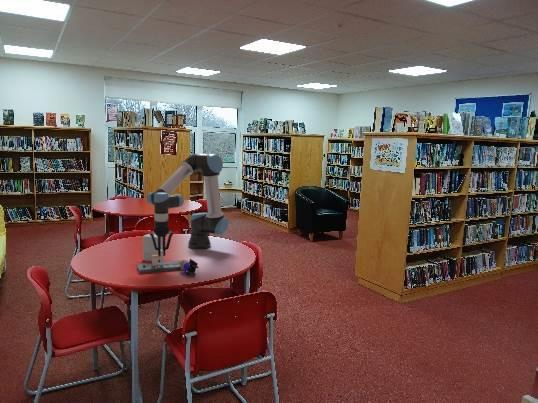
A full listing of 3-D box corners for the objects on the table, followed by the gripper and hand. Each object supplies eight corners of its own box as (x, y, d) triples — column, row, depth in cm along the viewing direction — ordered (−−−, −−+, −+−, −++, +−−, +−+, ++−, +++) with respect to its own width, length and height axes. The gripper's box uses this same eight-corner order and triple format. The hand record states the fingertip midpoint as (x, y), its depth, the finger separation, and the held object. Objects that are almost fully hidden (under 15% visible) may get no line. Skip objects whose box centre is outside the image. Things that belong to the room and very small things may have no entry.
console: (187, 263, 243) (187, 258, 242) (191, 269, 232) (191, 264, 231) (137, 267, 233) (137, 262, 232) (139, 273, 222) (139, 268, 221)
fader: (158, 264, 232) (157, 254, 231) (158, 265, 229) (158, 255, 229) (151, 264, 231) (151, 255, 230) (152, 266, 228) (152, 256, 227)
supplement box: (164, 258, 252) (163, 234, 250) (155, 261, 244) (155, 237, 241) (151, 256, 255) (151, 232, 253) (142, 260, 246) (142, 235, 244)
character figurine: (188, 279, 216) (178, 271, 229) (201, 276, 220) (190, 268, 233) (187, 265, 215) (177, 258, 227) (200, 262, 219) (189, 255, 231)
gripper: (172, 218, 234) (172, 258, 237) (148, 219, 229) (149, 260, 232) (174, 221, 227) (174, 262, 230) (149, 222, 222) (150, 264, 225)
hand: (161, 261), depth 231 cm, fingers closed
